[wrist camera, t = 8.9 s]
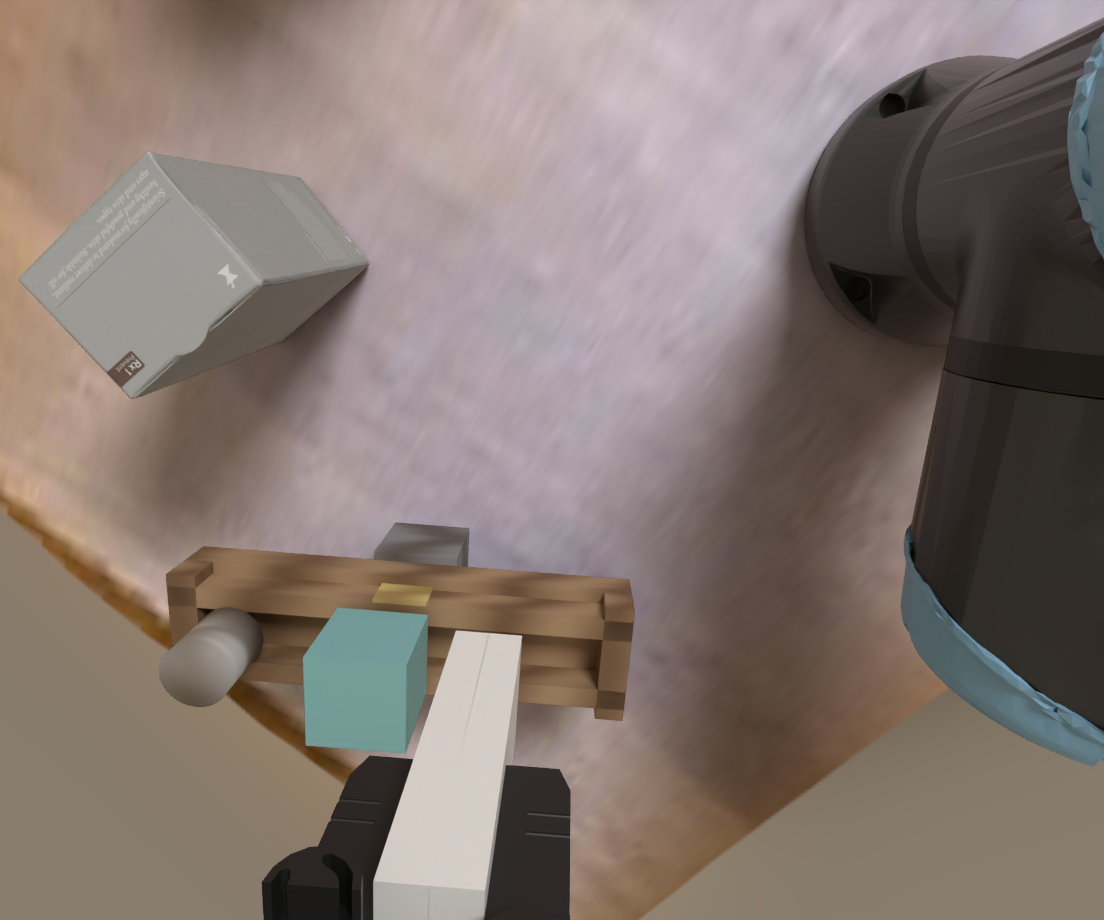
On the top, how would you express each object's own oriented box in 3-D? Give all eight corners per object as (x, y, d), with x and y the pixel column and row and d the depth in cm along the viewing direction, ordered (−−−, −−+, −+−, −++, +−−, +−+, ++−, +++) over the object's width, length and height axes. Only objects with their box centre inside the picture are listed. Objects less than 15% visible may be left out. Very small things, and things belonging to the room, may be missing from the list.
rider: (435, 597, 40) (406, 665, 33) (433, 672, 41) (405, 753, 34) (349, 590, 40) (302, 657, 33) (350, 666, 41) (305, 745, 34)
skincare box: (303, 176, 40) (139, 120, 25) (382, 275, 42) (272, 279, 27) (203, 266, 42) (-8, 264, 27) (282, 359, 43) (124, 407, 28)
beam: (624, 540, 46) (642, 641, 33) (613, 645, 48) (626, 777, 36) (241, 510, 46) (118, 599, 34) (247, 616, 48) (133, 737, 36)
